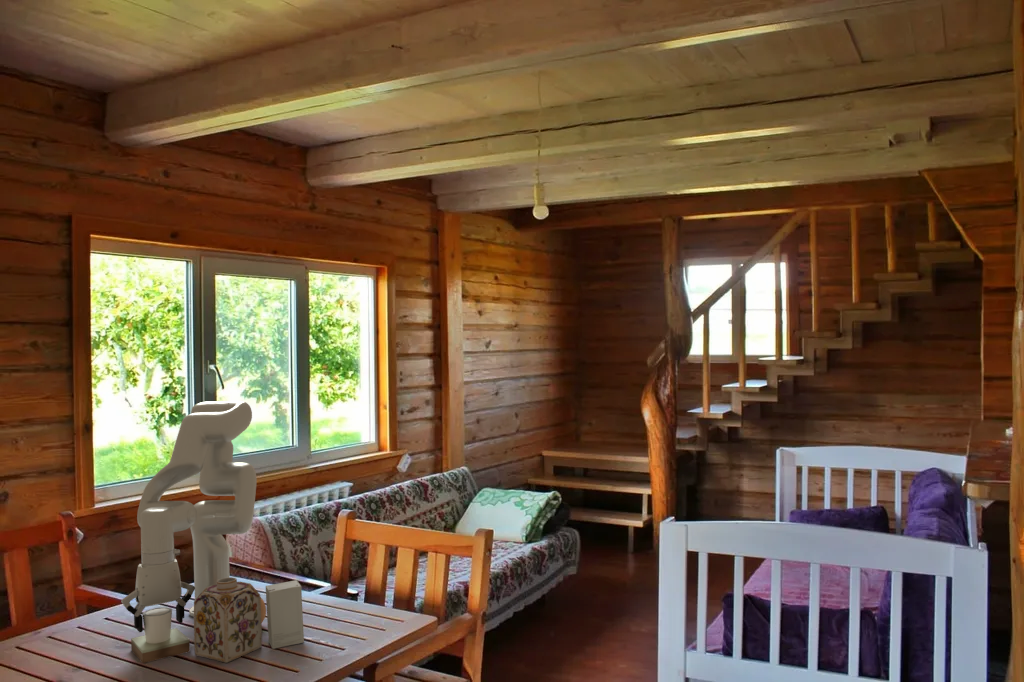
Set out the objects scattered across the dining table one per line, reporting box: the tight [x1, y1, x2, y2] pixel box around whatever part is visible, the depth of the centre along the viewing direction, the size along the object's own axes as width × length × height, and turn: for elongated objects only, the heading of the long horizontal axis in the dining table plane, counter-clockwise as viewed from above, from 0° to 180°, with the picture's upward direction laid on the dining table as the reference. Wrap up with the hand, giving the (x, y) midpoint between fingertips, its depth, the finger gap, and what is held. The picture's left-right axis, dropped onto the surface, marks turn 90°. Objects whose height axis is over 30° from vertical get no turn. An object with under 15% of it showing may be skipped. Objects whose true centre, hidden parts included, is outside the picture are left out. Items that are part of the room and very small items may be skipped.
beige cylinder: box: [142, 606, 173, 643], centre depth 204 cm, size 7×7×7 cm
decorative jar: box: [193, 577, 263, 664], centre depth 203 cm, size 12×12×18 cm
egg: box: [260, 596, 267, 624], centre depth 220 cm, size 7×7×9 cm
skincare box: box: [265, 579, 305, 650], centre depth 208 cm, size 8×6×15 cm
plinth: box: [130, 627, 191, 664], centre depth 204 cm, size 11×11×3 cm
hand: (159, 626), depth 204 cm, fingers open, 9 cm apart
